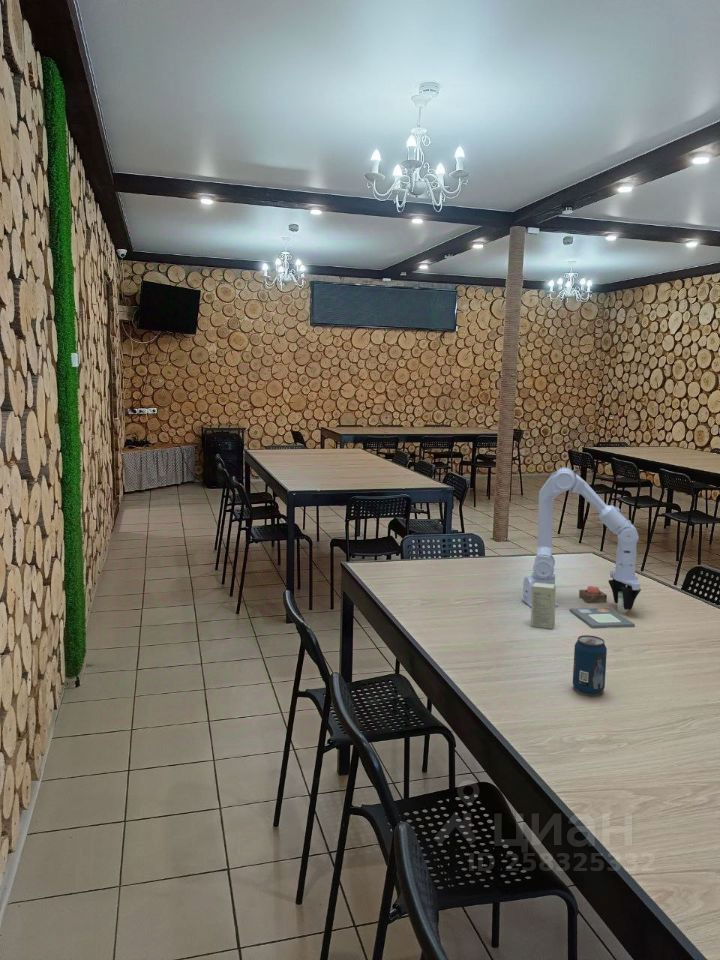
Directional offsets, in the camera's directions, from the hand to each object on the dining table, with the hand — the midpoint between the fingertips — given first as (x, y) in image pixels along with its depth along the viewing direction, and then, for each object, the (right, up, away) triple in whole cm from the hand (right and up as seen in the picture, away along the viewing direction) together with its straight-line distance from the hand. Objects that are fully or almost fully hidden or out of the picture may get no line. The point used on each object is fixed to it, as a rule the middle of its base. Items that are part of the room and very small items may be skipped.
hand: (622, 606), depth 209 cm
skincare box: (-29, -3, -13) cm, 32 cm away
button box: (-5, 0, +12) cm, 13 cm away
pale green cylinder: (0, -2, 0) cm, 2 cm away
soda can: (-30, -9, -55) cm, 63 cm away
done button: (-5, 0, +12) cm, 13 cm away
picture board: (-9, -3, -7) cm, 12 cm away
